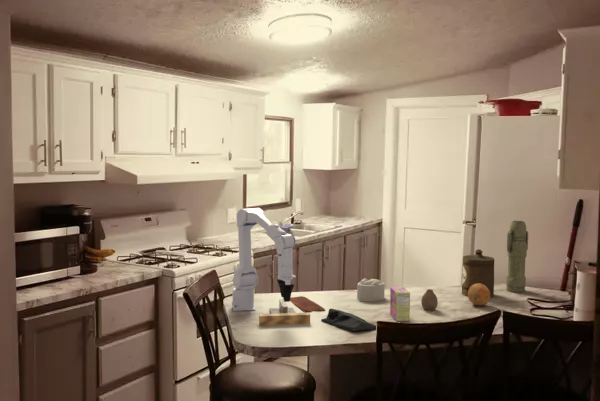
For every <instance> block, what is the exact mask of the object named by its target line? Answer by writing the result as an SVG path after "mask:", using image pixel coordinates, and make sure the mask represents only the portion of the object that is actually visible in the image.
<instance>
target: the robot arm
mask: <svg viewBox="0 0 600 401" xmlns="http://www.w3.org/2000/svg"><path fill="white" fill-rule="evenodd" d="M256 225H258V226H260V227H261V228H263V229H264V230H265V231H266V235H267V237H269V238H270V239H271V241H273V243H274V245H275V246H274V247H275V248H276V254H277V273H278V274H277V278H276V281H277V284H278V286H279V287H278V288H279V290H280V296H281V298H283V299H284V302H286V303H289V302H291V301H290V298H292V292H293V290H294V287H295V283H291V281H292V280H293V279H295V278H297V276H296V275H295V274H293V272H294V270H293V260H294V259H293V254H294V253H293V248H295V246H296V243H297V241H296V237H295V235H294V234H293V233H287V232H286V231H285V230H284V229H282V228H281V227H280V225H279V224H278V223H277V224H276V223H272V222H271V221H270V220H269V219H268V218H267V217H266V216H265V212H264V210H263V209H262V208H261V207H253V208H251V207H250V208H240V209H239V210H237V213H236V227H237V230H238V231H237V232H238V234H237V236H238V259H239V261H238V263H239V266H237V268H235V270H233V278H232V283H233V286H234V288H232V295H231V296H232V297H231V298H232V301H231V306H232V311H233V312H235V311H236V312H239V311H241V312H243V311H255V310H256V307H255V301H254V300H255V289H256V286H257V284H258V282H259V276H258V272H257V268H256V267H254V266H253V263H252V261H253V260H252V237H251V235H252V234H251V233H252V232H251V230H252V229H253V228H254V227H255V226H256Z"/></svg>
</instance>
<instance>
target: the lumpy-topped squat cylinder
mask: <svg viewBox="0 0 600 401" xmlns="http://www.w3.org/2000/svg"><path fill="white" fill-rule="evenodd" d="M385 286H386V283H385V282H382V281H381V280H380V279H377V278H376V279H375V278H370V279H369V278H368V279H367V278H362V280H360V281H359V282H358V283H357V286H356V287H357V289H356V293H357V294H356V299H357V300H358V301H361V300H362V302H377V301H381V300H384V299H385V290H386V289H385Z"/></svg>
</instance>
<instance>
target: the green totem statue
mask: <svg viewBox="0 0 600 401" xmlns="http://www.w3.org/2000/svg"><path fill="white" fill-rule="evenodd" d="M510 223H511V224H510V226H509V230H508V231H507V235H506V236H507V238H506V239H507V240H506V251H507V256H508V260H507V262H508V264H507V275H506V282H505V285H506V291H508V292H510V293H517V294H518V293H519V294H520V293H525V292H526V279H527V278H526V275H525V274H526V258H527V253H528V252H527V251H528V249H529V248H528V247H529V232H528V230H527V225H526V222H525V221H522V220H513V221H511V222H510Z"/></svg>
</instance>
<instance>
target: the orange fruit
mask: <svg viewBox="0 0 600 401" xmlns="http://www.w3.org/2000/svg"><path fill="white" fill-rule="evenodd" d="M467 299H468V300H469V302H470V303H471V304H473V305H474V306H478V307H479V306H481V307H482V306H485V305H487V304H488V303H489V301H490V300H491V297H490V291H489V289H488V288H487V287H486V286H485V285H483V284H480V283H477V284H473V285H472V286H471V287H470V288H469V290H468V296H467Z"/></svg>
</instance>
